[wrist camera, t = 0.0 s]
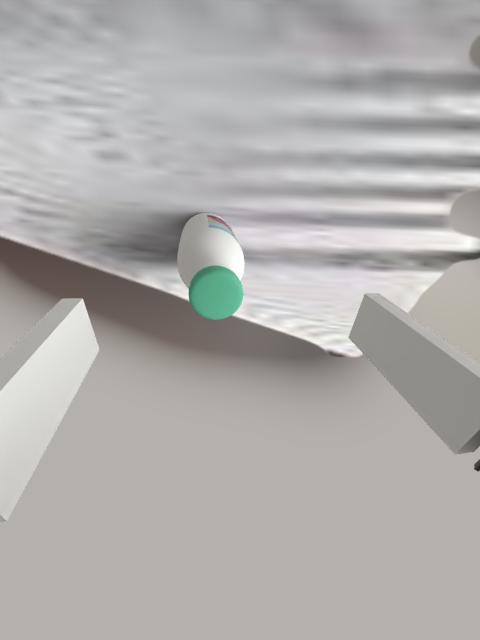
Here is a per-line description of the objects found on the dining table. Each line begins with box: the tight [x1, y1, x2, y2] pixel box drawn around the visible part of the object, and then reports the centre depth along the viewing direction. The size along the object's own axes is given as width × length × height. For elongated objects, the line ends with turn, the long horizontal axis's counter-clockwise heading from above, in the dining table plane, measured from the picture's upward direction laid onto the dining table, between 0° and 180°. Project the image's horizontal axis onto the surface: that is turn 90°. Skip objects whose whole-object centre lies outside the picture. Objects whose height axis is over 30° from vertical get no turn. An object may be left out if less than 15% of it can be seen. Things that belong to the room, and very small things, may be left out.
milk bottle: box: [177, 213, 244, 319], centre depth 28 cm, size 8×8×20 cm
